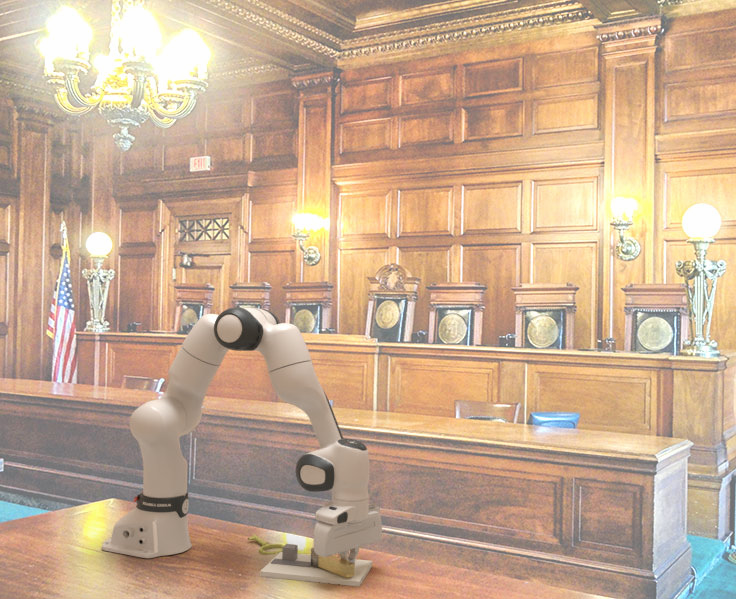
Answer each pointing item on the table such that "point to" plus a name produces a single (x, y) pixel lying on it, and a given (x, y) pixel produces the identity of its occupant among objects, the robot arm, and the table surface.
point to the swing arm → (333, 564)
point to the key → (266, 545)
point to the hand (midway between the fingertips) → (348, 567)
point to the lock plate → (310, 569)
